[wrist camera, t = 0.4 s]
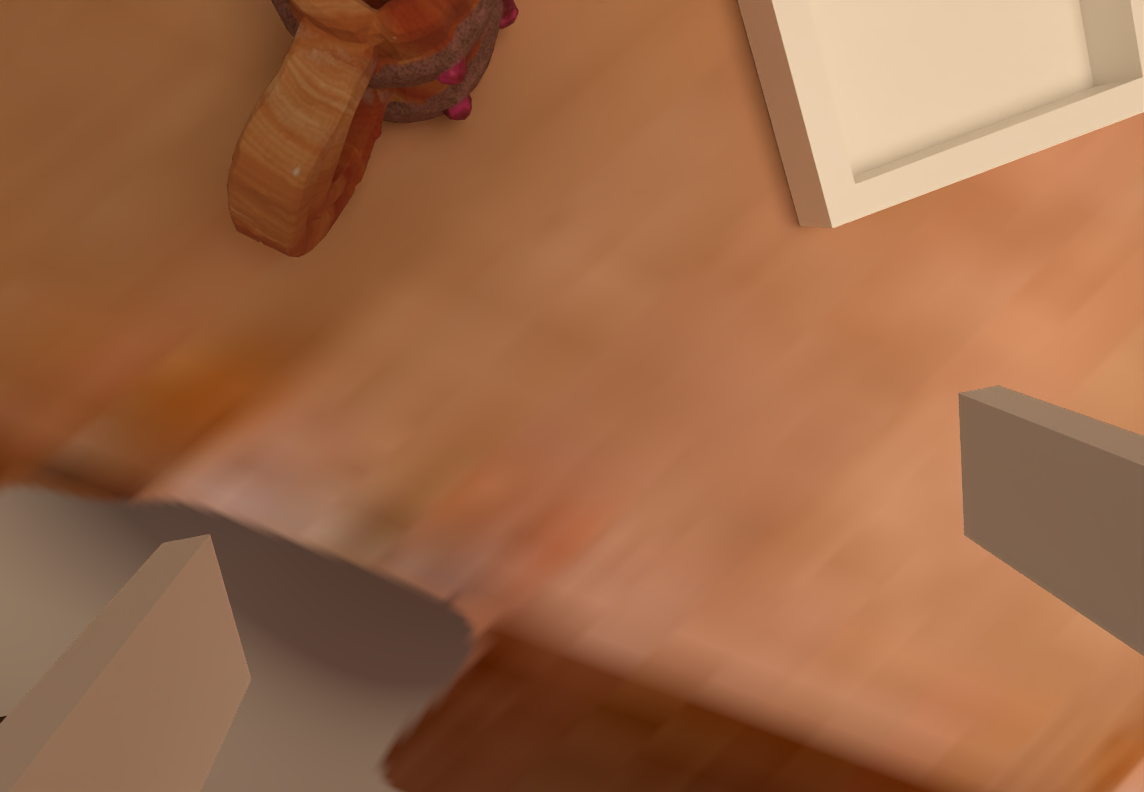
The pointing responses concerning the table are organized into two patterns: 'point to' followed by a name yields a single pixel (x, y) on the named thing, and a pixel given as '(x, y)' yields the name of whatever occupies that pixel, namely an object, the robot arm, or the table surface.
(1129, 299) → the table surface
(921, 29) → the tray
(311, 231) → the mug
